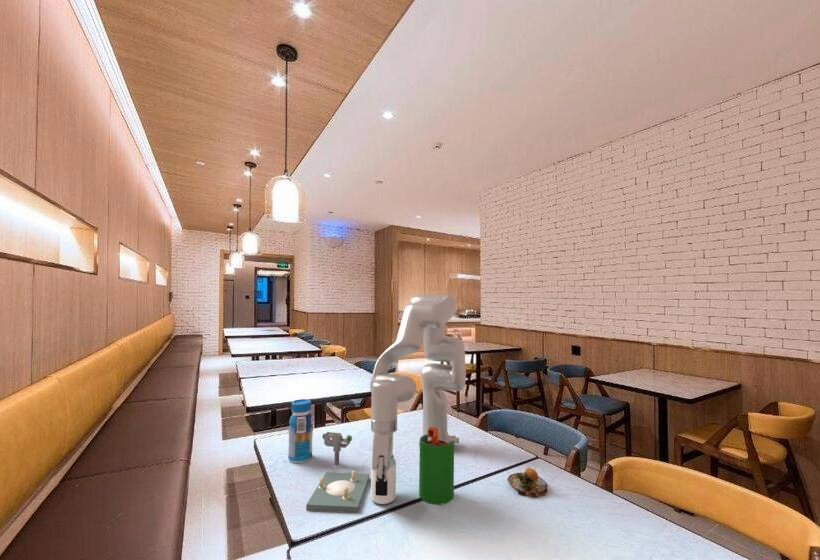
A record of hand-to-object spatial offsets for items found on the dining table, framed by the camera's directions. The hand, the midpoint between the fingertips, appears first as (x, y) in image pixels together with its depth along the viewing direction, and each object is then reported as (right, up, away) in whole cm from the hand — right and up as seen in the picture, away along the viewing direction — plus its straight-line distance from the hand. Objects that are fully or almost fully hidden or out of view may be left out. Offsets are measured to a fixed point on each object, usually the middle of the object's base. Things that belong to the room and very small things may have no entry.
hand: (383, 487), depth 102 cm
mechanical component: (-18, -4, +21) cm, 28 cm away
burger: (+44, -5, +7) cm, 44 cm away
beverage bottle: (-31, -4, +25) cm, 40 cm away
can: (0, -4, 0) cm, 4 cm away
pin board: (-13, -3, +3) cm, 14 cm away
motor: (+15, -4, +2) cm, 16 cm away
